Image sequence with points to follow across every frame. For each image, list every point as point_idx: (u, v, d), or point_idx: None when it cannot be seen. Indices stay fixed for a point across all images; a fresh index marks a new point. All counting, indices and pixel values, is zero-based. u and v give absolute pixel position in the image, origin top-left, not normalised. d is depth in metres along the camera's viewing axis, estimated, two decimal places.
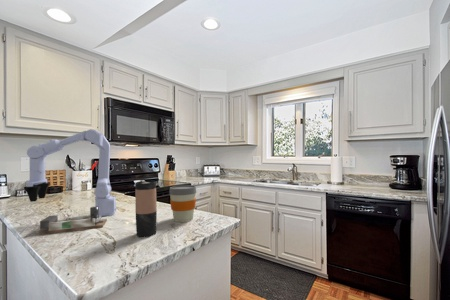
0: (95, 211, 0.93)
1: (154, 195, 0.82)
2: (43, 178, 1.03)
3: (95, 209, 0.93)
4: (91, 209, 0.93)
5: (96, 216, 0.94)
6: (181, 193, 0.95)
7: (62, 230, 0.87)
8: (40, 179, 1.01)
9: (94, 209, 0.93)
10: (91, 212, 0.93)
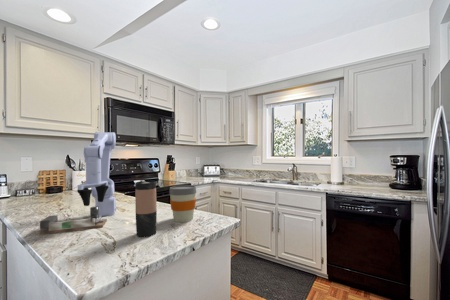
0: (95, 211, 0.93)
1: (154, 195, 0.82)
2: (97, 180, 0.93)
3: (95, 209, 0.93)
4: (91, 209, 0.93)
5: (96, 216, 0.94)
6: (181, 193, 0.95)
7: (62, 230, 0.87)
8: (93, 182, 0.92)
9: (94, 209, 0.93)
10: (91, 212, 0.93)
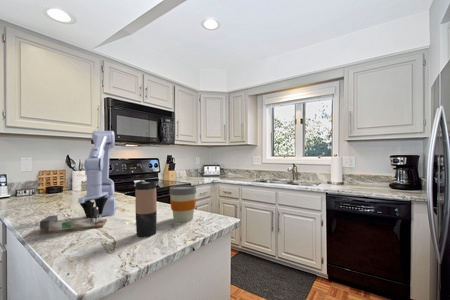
0: (95, 211, 0.93)
1: (154, 195, 0.82)
2: (97, 193, 0.93)
3: (95, 209, 0.93)
4: None
5: (96, 216, 0.94)
6: (181, 193, 0.95)
7: (62, 230, 0.87)
8: (94, 194, 0.92)
9: (94, 209, 0.93)
10: None
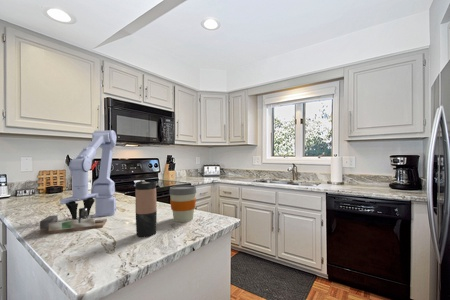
0: (84, 212, 0.92)
1: (154, 195, 0.82)
2: (81, 194, 0.91)
3: (84, 210, 0.92)
4: (80, 210, 0.92)
5: (85, 217, 0.92)
6: (181, 193, 0.95)
7: (62, 230, 0.87)
8: (78, 195, 0.90)
9: (83, 210, 0.92)
10: (80, 213, 0.92)
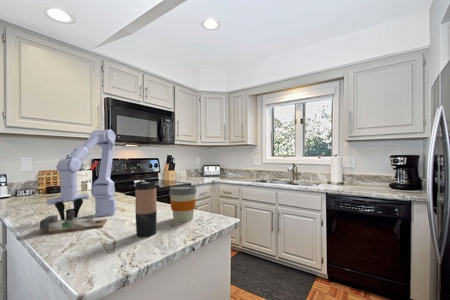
0: (71, 214, 0.91)
1: (154, 195, 0.82)
2: (68, 195, 0.89)
3: (71, 211, 0.90)
4: (67, 211, 0.90)
5: (72, 218, 0.91)
6: (181, 193, 0.95)
7: (62, 230, 0.87)
8: (64, 196, 0.89)
9: (70, 211, 0.90)
10: (67, 214, 0.90)
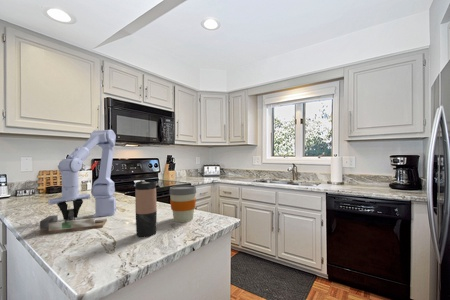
0: (71, 214, 0.90)
1: (154, 195, 0.82)
2: (70, 195, 0.89)
3: (71, 211, 0.90)
4: None
5: (72, 218, 0.91)
6: (181, 193, 0.95)
7: (62, 230, 0.87)
8: (66, 196, 0.89)
9: (69, 211, 0.90)
10: None
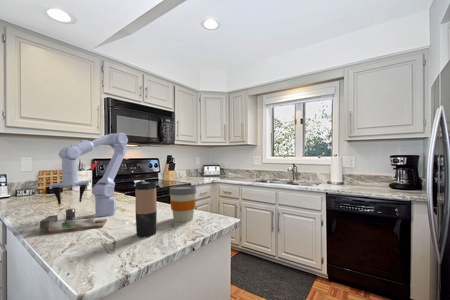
0: (71, 214, 0.90)
1: (154, 195, 0.82)
2: (67, 181, 0.95)
3: (71, 211, 0.90)
4: (66, 211, 0.90)
5: (72, 218, 0.91)
6: (181, 193, 0.95)
7: (62, 230, 0.87)
8: (63, 182, 0.95)
9: (70, 211, 0.90)
10: (66, 214, 0.90)
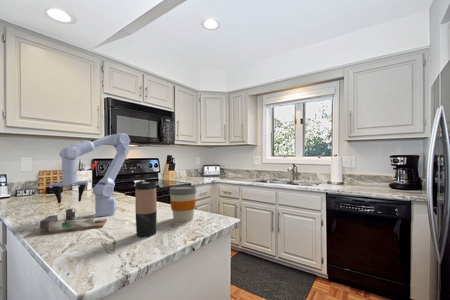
0: (71, 214, 0.90)
1: (154, 195, 0.82)
2: (65, 180, 0.97)
3: (71, 211, 0.90)
4: (66, 211, 0.90)
5: (72, 218, 0.91)
6: (181, 193, 0.95)
7: (62, 230, 0.87)
8: (63, 181, 0.97)
9: (70, 211, 0.90)
10: (66, 214, 0.90)
